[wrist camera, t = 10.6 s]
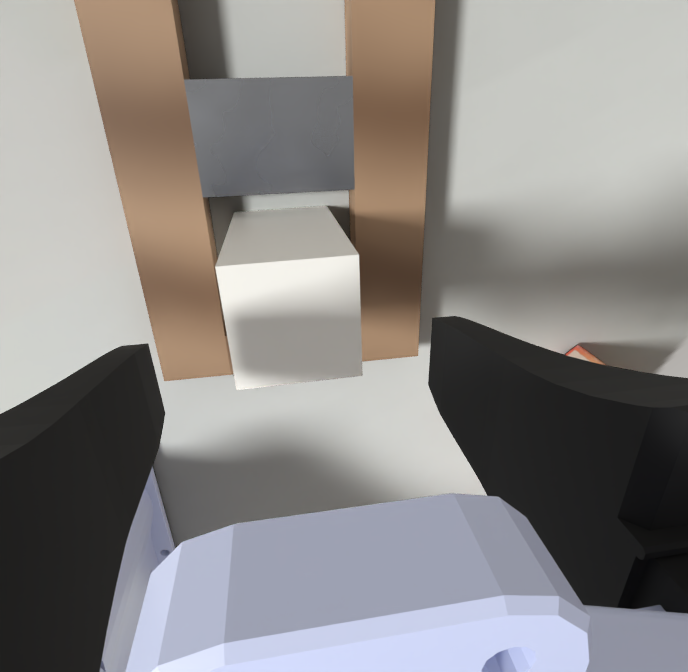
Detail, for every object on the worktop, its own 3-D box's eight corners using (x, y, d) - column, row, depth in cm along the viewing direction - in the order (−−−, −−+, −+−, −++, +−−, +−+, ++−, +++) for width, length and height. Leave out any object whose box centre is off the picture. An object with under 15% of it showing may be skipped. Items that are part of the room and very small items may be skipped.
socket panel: (409, 342, 24) (417, 355, 22) (170, 365, 22) (164, 381, 21) (430, -205, 15) (447, -237, 13) (37, -227, 13) (11, -265, 12)
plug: (331, 290, 22) (362, 375, 15) (247, 298, 21) (236, 390, 14) (326, 205, 20) (359, 254, 13) (234, 212, 20) (215, 266, 12)
